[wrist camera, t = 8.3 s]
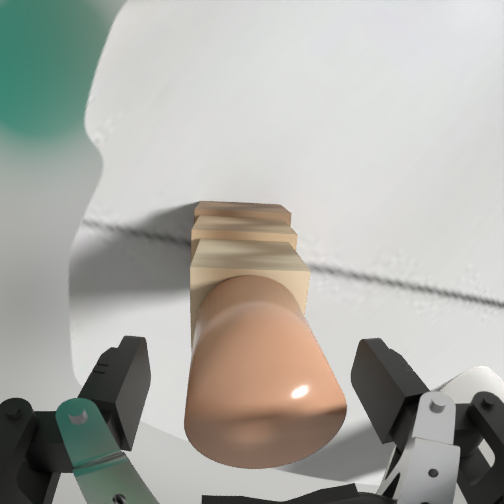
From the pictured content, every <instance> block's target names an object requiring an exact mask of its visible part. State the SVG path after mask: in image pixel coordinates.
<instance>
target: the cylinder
mask: <svg viewBox="0 0 504 504" xmlns="http://www.w3.org/2000/svg"><path fill="white" fill-rule="evenodd" d="M346 411H347V405H346V399H345V397H344V394H343V392H342V390H341V388H340V386H339V384H338V382H337V380H336V378H335V376H334V374H333V372H332V370H331V368H330V366H329V364H328V362H327V360H326V358H325V356H324V354H323V352H322V350H321V348H320V346H319V344H318V342H317V340H316V338H315V336H314V334H313V332H312V330H311V328H310V326H309V324H308V322H307V320H306V318H305V316H304V314H303V312H302V310H301V308H300V306H299V304H298V302H297V300H296V299H295V297H294V296H293V294H292V293H291V292H290V291H289V290H288V289H287V288H286V287H285V286H284V285H282V284H281V283H279V282H277V281H275V280H273V279H270V278H267V277H263V276H255V275H246V276H239V277H235V278H231V279H229V280H226V281H224V282H222V283H221V284H219V285H217V286H216V287H215V288H213V289H212V290H211V291H210V292H209V293H208V294H207V295H206V297H205V298H204V299H203V301H202V303H201V305H200V307H199V310H198V313H197V318H196V326H195V333H194V341H193V348H192V356H191V364H190V373H189V381H188V390H187V399H186V408H185V418H184V429H185V433H186V436H187V438H188V440H189V442H190V443H191V444H192V446H193V447H194V448H195V449H196V450H197V451H198V452H200V453H201V454H203V455H204V456H206V457H207V458H209V459H211V460H213V461H215V462H218V463H221V464H224V465H228V466H232V467H237V468H247V469H263V468H272V467H278V466H282V465H286V464H290V463H293V462H296V461H299V460H301V459H303V458H306V457H308V456H309V455H311V454H313V453H315V452H316V451H318V450H320V449H321V448H322V447H324V446H325V445H326V444H327V443H328V442H329V441H330V440H332V439H333V437H334V436H335V435H336V434H337V433H338V431H339V430H340V428H341V427H342V424H343V422H344V420H345V416H346Z"/></svg>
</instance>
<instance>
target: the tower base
mask: <svg viewBox="0 0 504 504" xmlns="http://www.w3.org/2000/svg"><path fill="white" fill-rule="evenodd" d="M200 215H212V216H234V217H253V218H271V219H283V220H284V221H285V222H286V223H287V224H288V225H289V226H290V223H291V213H290V212H289V211H288V210H286V209H285V208H284V207H283V206H281V205H277V204H259V203H239V202H214V201H200V203H199V204H198V205H197V207H196V208H195V210H194V224H195V223H196V221H197V219H198V217H199V216H200Z"/></svg>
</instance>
